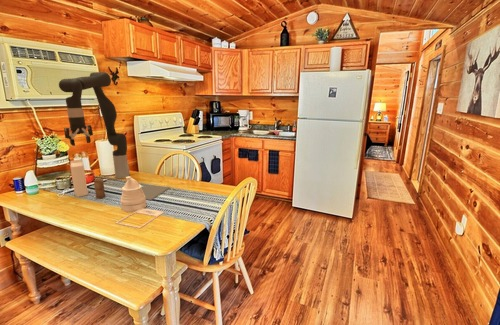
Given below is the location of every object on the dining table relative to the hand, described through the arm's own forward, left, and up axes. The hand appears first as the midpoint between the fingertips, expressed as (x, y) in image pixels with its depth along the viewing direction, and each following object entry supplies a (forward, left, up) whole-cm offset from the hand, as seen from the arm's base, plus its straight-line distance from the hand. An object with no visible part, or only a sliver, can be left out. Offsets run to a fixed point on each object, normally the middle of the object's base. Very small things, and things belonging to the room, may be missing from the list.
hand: (81, 144), depth 149 cm
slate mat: (-14, +31, -32) cm, 47 cm away
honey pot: (+7, +36, -33) cm, 49 cm away
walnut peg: (0, +8, -32) cm, 33 cm away
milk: (-1, -7, -32) cm, 33 cm away
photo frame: (+18, +48, -33) cm, 61 cm away
